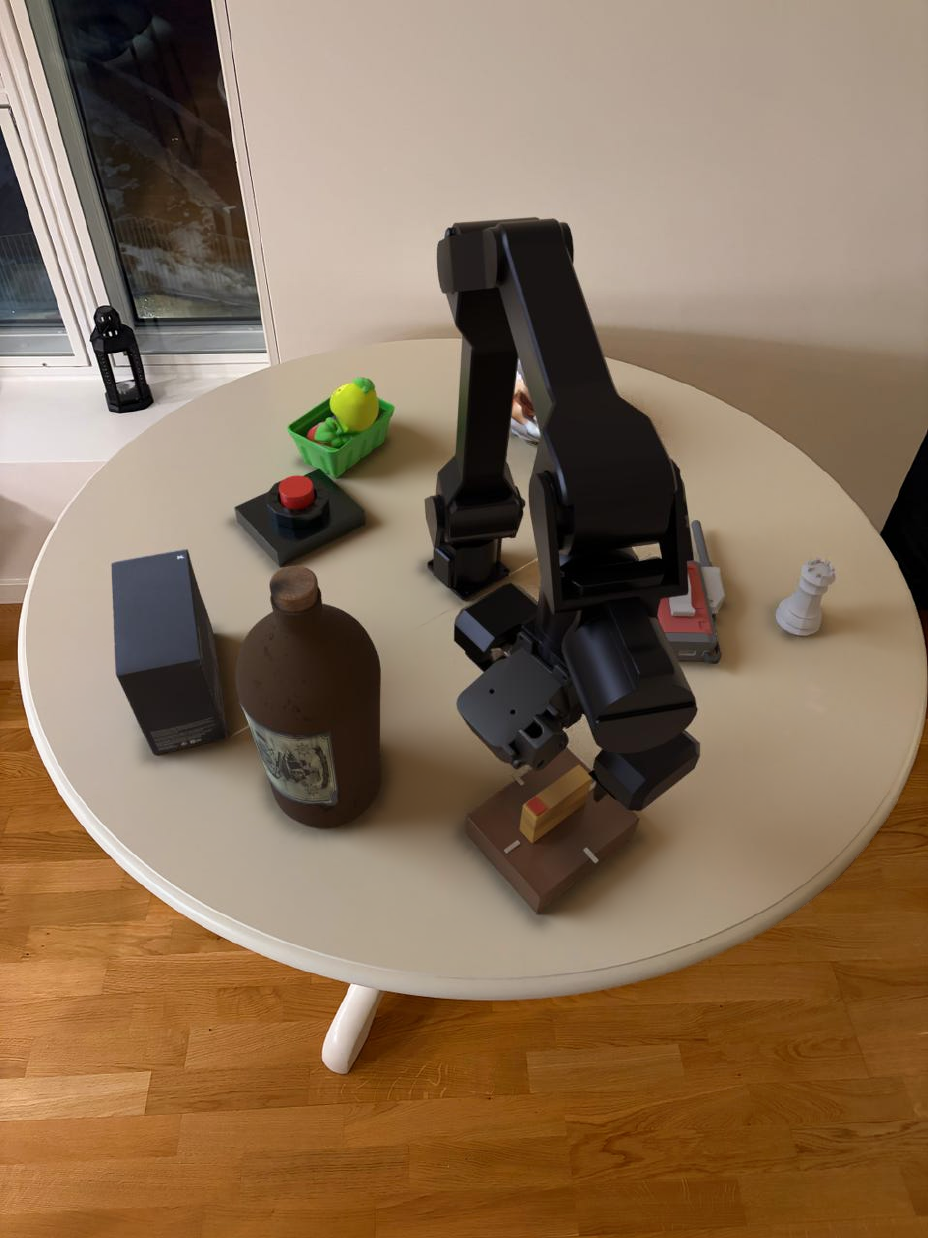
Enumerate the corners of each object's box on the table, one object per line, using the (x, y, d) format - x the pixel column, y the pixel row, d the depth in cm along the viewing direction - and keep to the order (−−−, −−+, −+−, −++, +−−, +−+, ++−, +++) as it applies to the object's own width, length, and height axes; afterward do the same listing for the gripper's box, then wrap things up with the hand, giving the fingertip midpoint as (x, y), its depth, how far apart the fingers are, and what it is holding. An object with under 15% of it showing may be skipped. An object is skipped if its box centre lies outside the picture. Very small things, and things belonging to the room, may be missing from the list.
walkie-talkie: (737, 672, 87) (702, 530, 100) (749, 643, 84) (711, 500, 97) (647, 670, 87) (623, 528, 100) (656, 641, 84) (630, 498, 97)
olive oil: (302, 714, 83) (263, 510, 64) (407, 751, 80) (399, 551, 62) (242, 809, 76) (178, 614, 57) (355, 853, 74) (328, 664, 55)
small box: (142, 646, 88) (108, 559, 79) (214, 632, 89) (189, 545, 80) (150, 758, 79) (114, 674, 70) (229, 740, 81) (203, 656, 72)
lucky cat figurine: (621, 461, 108) (594, 396, 96) (526, 490, 111) (489, 430, 99) (600, 363, 114) (572, 289, 102) (510, 392, 117) (473, 325, 105)
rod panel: (556, 758, 80) (559, 739, 78) (639, 841, 75) (645, 822, 73) (460, 827, 76) (461, 808, 73) (541, 920, 70) (545, 903, 68)
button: (303, 483, 99) (301, 470, 97) (321, 500, 97) (319, 488, 95) (274, 496, 97) (272, 483, 96) (292, 514, 95) (290, 501, 94)
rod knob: (573, 789, 75) (579, 762, 72) (586, 803, 74) (593, 775, 71) (518, 830, 72) (522, 803, 69) (532, 844, 71) (536, 818, 68)
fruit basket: (351, 417, 113) (344, 336, 104) (407, 444, 109) (404, 363, 101) (288, 463, 106) (275, 381, 98) (345, 493, 103) (337, 411, 95)
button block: (321, 482, 104) (317, 455, 101) (365, 524, 100) (363, 497, 97) (237, 521, 100) (231, 494, 97) (279, 568, 95) (274, 540, 92)
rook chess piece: (820, 641, 90) (847, 587, 84) (774, 634, 91) (798, 579, 85) (817, 609, 93) (843, 554, 87) (773, 602, 93) (796, 547, 87)
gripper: (388, 587, 57) (396, 728, 69) (594, 790, 48) (563, 913, 59) (520, 516, 62) (507, 659, 74) (731, 687, 52) (677, 820, 64)
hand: (557, 755), depth 68 cm, fingers open, 9 cm apart
